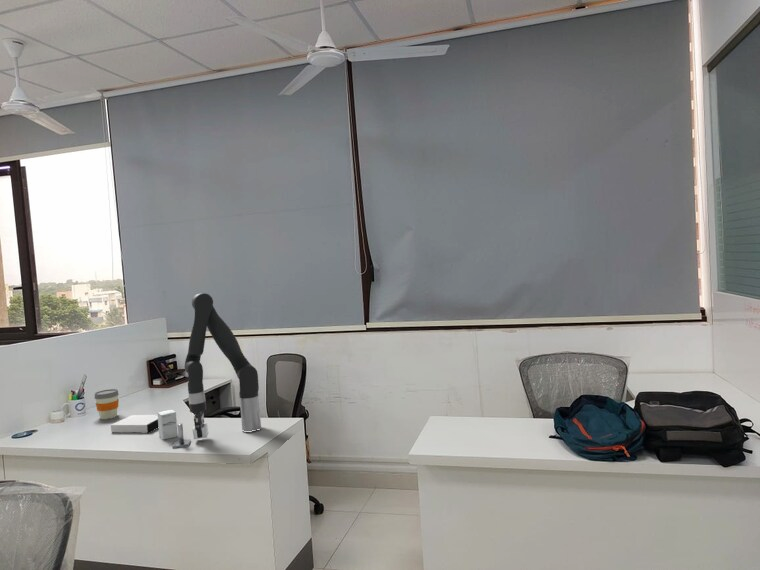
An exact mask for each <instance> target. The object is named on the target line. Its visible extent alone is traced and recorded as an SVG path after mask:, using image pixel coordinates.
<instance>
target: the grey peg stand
mask: <svg viewBox="0 0 760 570" xmlns="http://www.w3.org/2000/svg"><path fill="white" fill-rule="evenodd" d="M177 432H178V436H177V438H178V440H177V441H176V440H175V441H174V443H173V445H172V446H171V447H172V449H177V447H180V448H186V447H185V446H188V445H190V444H191V442H190V441H191V439H184V427H183V423H177ZM189 443H190V444H189ZM188 447H189V446H188Z"/></svg>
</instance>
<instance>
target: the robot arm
mask: <svg viewBox="0 0 760 570" xmlns="http://www.w3.org/2000/svg"><path fill="white" fill-rule="evenodd" d="M191 305H192V308H193V309H194V320H193V324H192V325H193V326H192V329H191V333H190V335H189V340H188V341H189V342H188V350H187V355H186V357H185V361H184V370H185V372H186V373H187V375H188V382H187V394H188V398H187V399H188V406H189V412H190V413H193V414H194V416H193V422H194V425H195V430H197V437H198V438H200V439H202V438H201V437H202V424H205V417H204V416H205V415H204V411H206V410H207V401H206V395H205V390H204V389H205V388H204V380H203V378H204V368H203V365H202V362H201V358H202V357H201V356H202V355H203V354H204V349H205V343H206V342H205V341H206V333H207V329H208V331H209V333H210V335H211V337H212V338H213V340H214V341H215V343H216V345H217V347H218V348H219V349H220V351H221V352H222V353H223V355H224V356H225V357H226V359H228V361H229V362H230V364H231V366H232V368H233V370H234V372H235V374H236V376H237V378H238V381H239V394H238V395H239V406H240V417H241V419H240V420H241V430H244V431H252V430H257V429H261V430H262V421H261V409H260V401H259V400H260V399H259V388H260V387H259V386H260V385H259V374H258V370H257V369H256V367H254V366H253V365H252V364H251V363H250V362H249V360H248V359H247V358H246V356H245V355H244V354H243V351H242V348H241V347H240V343H239V342H238V339H237V338H236V335H234V333H233V331H232V329H231V328H230V327H229V325H228V324H227V323H226V322H225V321H224V320H223V319H222V318H221V316H220V315H219V314H218V312H217V311H216V309H215V306H214V300H213V297H212V296H211V295H210V294H208V293H205V292H202V293H201V292H199V293H197V294H195V295H194V296H192V299H191ZM198 425H199V427H197V426H198Z"/></svg>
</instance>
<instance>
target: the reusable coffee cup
mask: <svg viewBox="0 0 760 570" xmlns="http://www.w3.org/2000/svg"><path fill="white" fill-rule="evenodd" d="M94 399H95V407H96V410H97V412H98V415H99V419H100V420H108V418H110V419H113V417H114V418H116V417H117V416H118V408H119V402H120V401H119V390H118V389H117V388H112V389H111V388H110V389H103V390H99V391H96V392H95V393H94ZM115 416H116V417H115Z"/></svg>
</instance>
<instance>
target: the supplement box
mask: <svg viewBox="0 0 760 570" xmlns="http://www.w3.org/2000/svg"><path fill="white" fill-rule="evenodd" d="M156 415H158V426H159V428H158V435H159V438H160V437H161V438H162V439H161V438H160V439H161V440H163V441H164V440H168V439H171V438H172V439H173V438H177V437H178V423H177V422H178V420H177V412H176V411H175V410H173V409H168V410H164V411H158V412H157V413H156ZM176 436H177V437H176Z"/></svg>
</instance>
